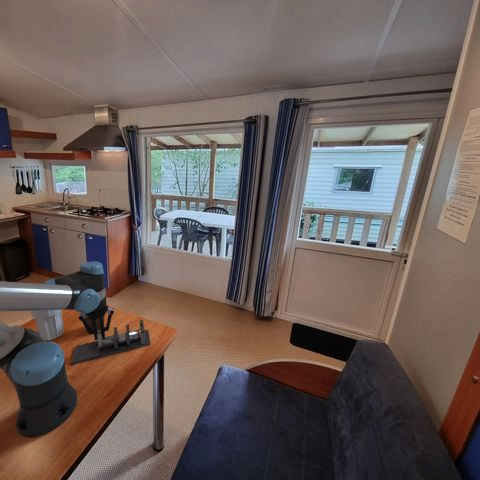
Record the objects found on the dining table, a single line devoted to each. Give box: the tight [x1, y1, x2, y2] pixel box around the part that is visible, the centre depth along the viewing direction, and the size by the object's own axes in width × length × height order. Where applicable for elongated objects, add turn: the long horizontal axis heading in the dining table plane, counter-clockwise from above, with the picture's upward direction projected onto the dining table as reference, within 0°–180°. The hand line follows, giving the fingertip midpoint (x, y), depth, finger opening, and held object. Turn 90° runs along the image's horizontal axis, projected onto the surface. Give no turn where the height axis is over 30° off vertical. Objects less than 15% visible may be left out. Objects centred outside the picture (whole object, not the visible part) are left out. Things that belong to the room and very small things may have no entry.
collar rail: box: [71, 319, 151, 365], centre depth 100 cm, size 10×30×8 cm, turn 117°
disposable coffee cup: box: [86, 314, 106, 331], centre depth 110 cm, size 10×10×12 cm
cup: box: [30, 310, 65, 343], centre depth 102 cm, size 11×11×17 cm
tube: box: [102, 328, 141, 347], centre depth 102 cm, size 16×4×4 cm, turn 117°
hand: (100, 344), depth 99 cm, fingers closed
